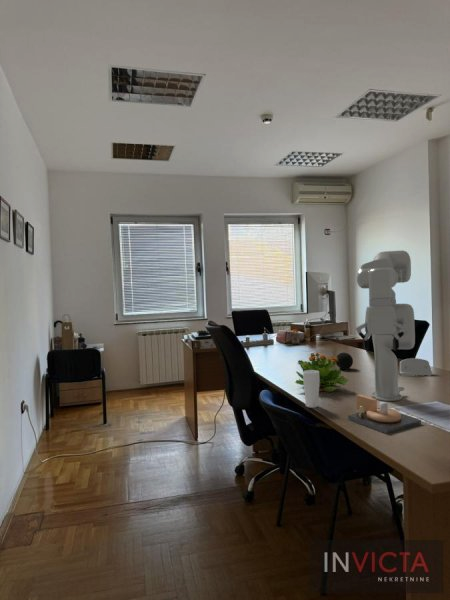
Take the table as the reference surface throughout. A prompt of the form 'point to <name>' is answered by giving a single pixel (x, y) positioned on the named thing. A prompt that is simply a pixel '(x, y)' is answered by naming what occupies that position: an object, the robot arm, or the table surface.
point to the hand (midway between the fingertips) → (381, 350)
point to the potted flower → (323, 372)
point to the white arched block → (414, 367)
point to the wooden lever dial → (373, 412)
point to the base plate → (384, 426)
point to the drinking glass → (311, 387)
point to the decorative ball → (344, 360)
